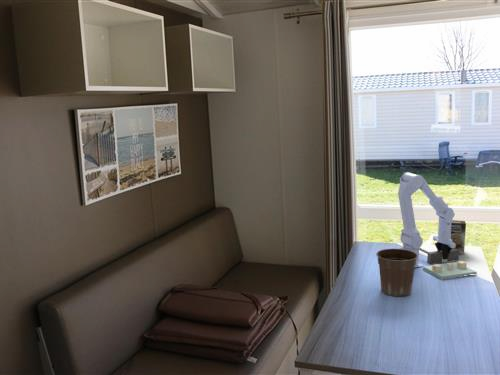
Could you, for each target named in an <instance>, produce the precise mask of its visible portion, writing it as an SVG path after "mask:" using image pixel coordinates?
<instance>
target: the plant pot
mask: <svg viewBox="0 0 500 375" xmlns="http://www.w3.org/2000/svg"><path fill="white" fill-rule="evenodd" d="M375 254H376V257H377V264H378V268H379V269H378V270H379V277H380V278H379V279H380V289H381V292H382V293H383V294H384V295H387V296H389V297H401V296H403V297H406V296H410V295H411V293H412V291H413V282H414V281H413V280H414V274H415V273H414V272H415V268H414V266H415V264H416V259H417V257H418V255H417V254H416V253H415V252H412V251H409V250H404V249H400V248H384V249H380V250H378V251H377V252H376V253H375Z"/></svg>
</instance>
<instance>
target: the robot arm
mask: <svg viewBox="0 0 500 375" xmlns="http://www.w3.org/2000/svg"><path fill="white" fill-rule="evenodd" d="M419 190H420V191H421V192H422V193H423V194H424V195H425V196H426V197H427V199H429V201H428V203H429V205H430V206H431V207H432V209H433V210H434V211H435V214H436V216H438V229H437V235H434V236H432V241H436V242H434V246H435V247H436V251H442V256H443V259H444V260H445V259H448V256H449V253H450V251H451V249H452V248H455V246H456V244H455V243H453V242H452V239H451V223H452V220H454V217H455V214H456V213H455V211H454V210H453V208H452V207H449V205H448V203H446V202H445V200H444V197H443V196H442V195H439V194H436V193H435V192H434V191H433V190H432V188H431V186H429V184H428V183H427V180H426V179H425V178H424V177H423V176H422V175H421V174H415V173H412V172H409V171H407V172H404V173H403V174H402V176H401V177H400V178H399V187H398V191H397V196H398V201H399V206H400V207H399V208H400V213H401V219H402V226H403V227H402V229H401V231H400V232H401V233H400V242H401V243H402V247H401V248H400V247H399V249H404V250H409V251H412V252H415V253H416V254H417V255H418V257H417V259H416V264H415V266H414V269H415V268H423V265H422V264H421V263H419V260H420V250H419V249H420V248H421V247H422V245H423V237H422V236H421V234H420V231H419V230H418V228H417V227H416V225H417V224H416V219H415V213H414V208H413V207H414V206H413V201H412V196H413V195H414V194H415V193H416V192H417V191H419Z"/></svg>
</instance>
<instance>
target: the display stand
mask: <svg viewBox="0 0 500 375" xmlns="http://www.w3.org/2000/svg"><path fill="white" fill-rule="evenodd" d="M467 265H468V263H467V262H466V261H464V260H456V261H453V262H445V263H441V264H440V263H433V264H430V265H424V266H423V265H422V270H423V271H425V272H427V273H429V274H430V275H433V276H434V277H436V278H438V279H440V280H441V279H442V280H441V281H443V279H444V280H449V278H451V279H456V278H455V277H458V278H461V277H460V276H464V275H470V274H476V275H477V273H478V271H476V270H474V269H472V268H471V267H470V268H469V267H468V266H467Z"/></svg>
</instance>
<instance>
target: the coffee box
mask: <svg viewBox="0 0 500 375" xmlns="http://www.w3.org/2000/svg"><path fill="white" fill-rule="evenodd" d="M466 227H467V223H466V221H465V220H455V219H452V223H451V239H452V242H453V243H455V244H456V246H455V249H458V250H459V255H465V244H466Z"/></svg>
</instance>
